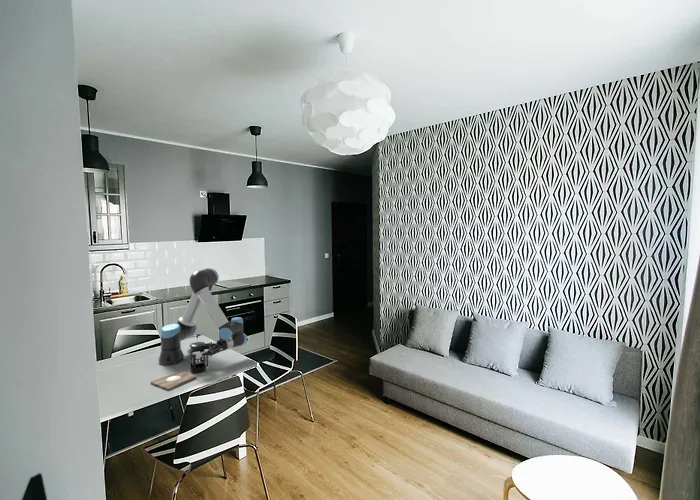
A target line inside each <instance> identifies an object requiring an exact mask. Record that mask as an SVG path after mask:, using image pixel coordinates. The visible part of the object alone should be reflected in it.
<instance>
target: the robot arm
mask: <svg viewBox="0 0 700 500" xmlns="http://www.w3.org/2000/svg"><path fill="white" fill-rule="evenodd" d="M219 278H220V277H219V274H218V272H217V270H216V269H214V268H210V267H209V268H208V267H207V268H203V269H201V270H200V269H199V270H196V271H194V272H192V273H191V275H190V277H189V286H190V289H191V292H192V294H191V297H190V299H189V302H188V303H187V306H186V308H185V311H184V312H183V314H182V316H180V317H179V318H178V321H177V323H169V324H166V325H164V326H162V327H161V329H160V334H159V335H160V350H161V351H160V353H159V357H158V364H159V365H162V366H170V365H175V364H176V365H177V364H179V363H181V362H183V361H184V360H185V356H184V352H183V350H182V346H181V345H182V344H181V342H182V341H185V340H186V339H188V338H190V337H192V336H194V335H195V333H196V331H197V321H196V319H197V317H198V315H199V313H200V310H201V308H202V306H203V307H204V308H205V310H206V312H207V313H208V315H209V317H210V318H211V319H212V321H213V322H214V324H215V326H216V327H217V329H218V337H219V339H218V340H217V341H216V342H214V343H213V342H208V343H205V345H204V346H205V347H204V348H203V350H205V351H204V352H200V351H199V352H198V353H197V352H196V353H195V355H196V358H200V357H203V358H204V356H205V357H206V355H208V356H210V357H212V356H214V355H216V354H218V353H220V352H223V351H224V352H225V351H227V350H231V349H233V348H236V347H237V348H238V347H241V346H244V345H245V344H247V342H248V336H247V334H245V333H244V320H243V318H242V317H241V316H239V317H237V316H236V317H232V318H231V321H230V322H229V320H228V318H227V316H226V315H225V313H224V312H223V310H222V309H221V307H220V306H219V304H218V302H217V301H216V299H215V298H214V296H213V295H212V293H211V292H212V289H213V286H214V285H215V284H217V283H218V282H219ZM191 351H193V350H191V348H188V349H187V351H186V352H187V355H190V352H191Z"/></svg>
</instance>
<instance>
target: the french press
mask: <svg viewBox="0 0 700 500" xmlns="http://www.w3.org/2000/svg"><path fill="white" fill-rule="evenodd" d="M200 336H202V335H201V333H197V334H195V333H194V334H193V337H196V341H195V342H192V343H190V344H189V347H190V348H191V350H193V351H191V352H190V353H189V357H190V359H189V360H190V366H189V367H190V368H189V372H190V373H189V374H192V375H193V374H194V375H195V374H202V373H204V372H206V371H207V367H209V355H206V356H203V357H200V358H196V354H197V353H200V352H204V351H206V350H203V348H204V347H205V346H204V345H205V344H206V343H205V342H203V341H198V338H199V337H200ZM190 348H189V349H190ZM194 353H196V354H194Z"/></svg>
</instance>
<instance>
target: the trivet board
mask: <svg viewBox="0 0 700 500" xmlns="http://www.w3.org/2000/svg"><path fill="white" fill-rule="evenodd" d="M196 379H197V375H195V374H194V375H193V374H192V373H187V372H185V371H181V370H177V371H175V372H172V373H169V374H168V375H165V376H162V377H159V378H156V379H155V380H151V381H150V384H151V385H152V384H153V386H155V385H156V386H155V387H157V386H158V387H157V388H160V387H161V388H160V389H162V388H163V390H165V389H166V390H165V391H168V390H169V391H171V390H173V389H175V388H177V386H178V387H179V385H180V386H182V385H184V383H185V384H187V383H188V382H191V381H193V380H196ZM174 387H175V388H174ZM172 388H173V389H172ZM170 389H171V390H170Z"/></svg>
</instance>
